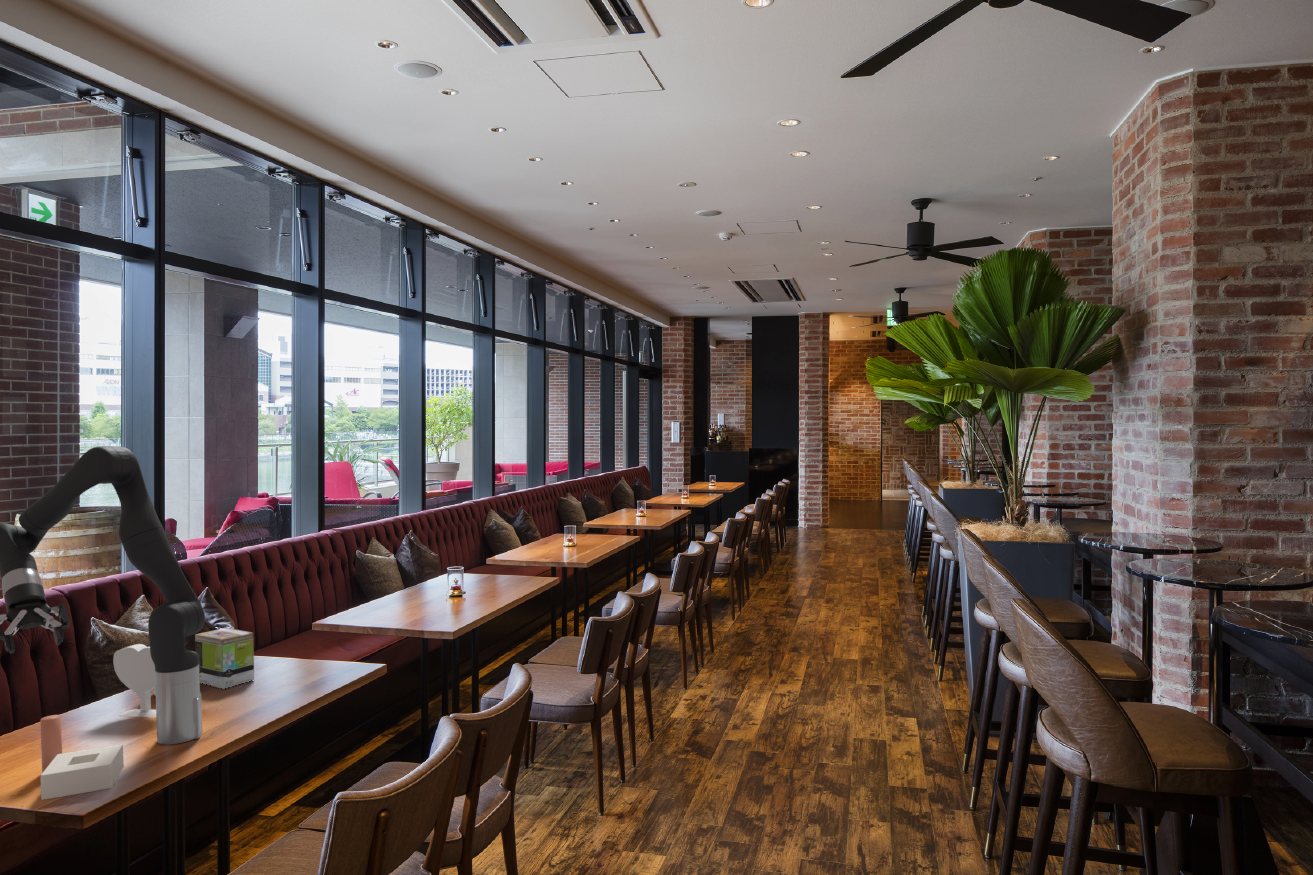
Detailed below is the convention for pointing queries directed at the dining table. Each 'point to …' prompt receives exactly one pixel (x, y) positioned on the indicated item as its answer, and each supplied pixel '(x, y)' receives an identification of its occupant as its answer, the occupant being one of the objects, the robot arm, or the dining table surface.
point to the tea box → (225, 657)
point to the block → (82, 771)
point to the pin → (50, 739)
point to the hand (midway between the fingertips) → (36, 647)
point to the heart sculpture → (137, 676)
